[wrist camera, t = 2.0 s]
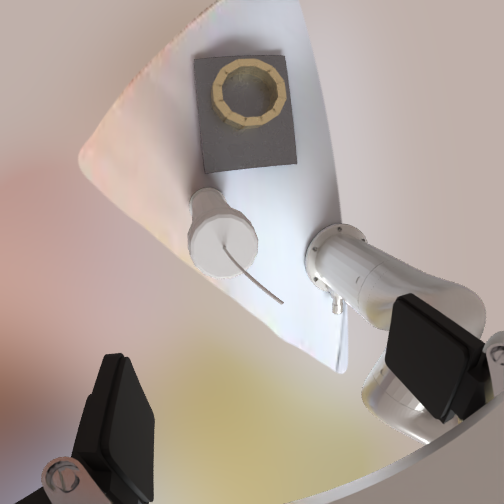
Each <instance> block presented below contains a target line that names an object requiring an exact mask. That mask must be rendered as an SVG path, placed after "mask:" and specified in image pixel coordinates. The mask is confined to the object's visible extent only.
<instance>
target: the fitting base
mask: <svg viewBox="0 0 504 504" xmlns="http://www.w3.org/2000/svg"><path fill="white" fill-rule="evenodd" d="M194 71H195V82H196V93H197V104H198V114H199V124H200V133H201V142H202V151H203V160H204V168H205V174H207V173H214V172H222V171H230V170H238V169H247V168H257V167H267V166H277V165H289V164H297V157H296V146H295V136H294V126H293V117H292V108H291V99H290V91H289V83H288V75H287V68H286V61H285V56H275V55H258V56H230V57H215V58H204V59H194Z"/></svg>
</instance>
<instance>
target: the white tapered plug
mask: <svg viewBox="0 0 504 504" xmlns="http://www.w3.org/2000/svg"><path fill="white" fill-rule="evenodd" d="M189 211H190V213H191V216H192V224H191V227H190V229H189V232H188V250H189V252H190V256H191V258H192V261H193V263H194V265H195V267H197V268H198V269H199V270H200V271H201V272H202V273H203V274H204V275H206V276H209V277H212V278H215V279H231V278H234V277H236V276H238V275H241V274H243V273H244V274H245V275H246V276H247V277H248V278H249V279H250V280H251V281H252V282H254V283H255V284H256V285H257V286H258V287H259V288H261V289H262V290H263V291H264V292H266V293H267V294H268V295H269V296H271V297H272V298H273V299H274V300H276V301H277V302H278V303H280V304H281V305H282V304H283V303H284V302H283V301H281V300H280V299H279V298H277V297H276V296H275V295H273V294H272V293H271V292H270V291H268V290H267V289H266V288H265V287H263V286H262V285H261V284H260V283H259V282H257V281H256V280H255V279H254V278H253V277H252V276H251V275H249V274H248V273H247V272H246V270H247V269H248V268H249V267H250V266H251V265H252V264H253V261H254V259H255V257H256V255H257V253H258V238H257V235H256V233H255V230H254V227H253V226H252V224H251V222H250V221H249V220H248V219H247V218H246V217H245V216H244V215H243V214H242V213H241V212H240V211H238V210H235V209H233V208H231V207H230V206H229V205H228V204H227V202H226V199H225V197H224V195H223V194H222V193H221V192H220V191H219V190H216V189H214V188H203V189H200V190H198V191H197V192H196V193H195V194H194V195H193V196H192V198H191V200H190V202H189Z"/></svg>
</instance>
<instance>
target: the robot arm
mask: <svg viewBox="0 0 504 504" xmlns="http://www.w3.org/2000/svg"><path fill="white" fill-rule="evenodd" d="M313 247H314V249H313ZM305 266H306V272H307V275H308V277H309V279H310V280H311V282H312V283H313V284H314V285H315V286H316V287H318V288H319V289H321V290H323V291H326V292H331V297H332V298H333V303H332V312H333V313H334V314H341V313H342V312H343V302H342V300H344V301H345V302H346V304H349V305H350V306H351V307H352V308H353V309H354V310H355V311H356V312H357V313H358V314H359V315H360V316H361V317H362V318H364V319H365V320H366V321H367V322H368V323H369V324H370V325H372V326H373V327H375V328H377V329H381V330H385V331H389V336H388V342H387V347H386V348H385V350H384V352H383V353H382V355H381V356H380V358H379V359H378V361H377V363H376V364H375V366H374V367H373V369H372V371H371V372H370V374H369V375H368V377H367V378H366V380H365V382H364V384H363V387H362V392H361V393H362V394H361V395H362V400H363V403H364V405H365V406H366V408H367V409H368V410H369V411H370V412H371V413H372V414H373V415H374V416H375V417H376V418H378V419H379V420H380V421H382V422H383V423H385V424H387V425H388V426H390V427H392V428H393V429H395V430H397V431H399V432H401V433H402V434H404V435H406V436H408V437H410V438H412V439H414V440H416V441H418V442H420V443H422V444H423V445H425V446H424V447H422V448H420V449H418V450H417V451H415V452H413V453H411V454H410V455H407V456H406V457H404V458H402V459H400V460H398V461H396V462H394V463H392V464H390V465H388V466H386V467H384V468H382V469H380V470H377V471H376V472H373V473H371V474H369V475H367V476H364V477H362V478H359V479H357V480H355V481H352V482H349V483H347V484H344V485H342V486H339V487H336V488H333V489H331V490H328V491H325V492H322V493H319V494H316V495H313V496H310V497H306V498H303V499H299V500H296V501H292V502H289V503H285V504H504V331H500V332H497V333H495V334H494V335H493V336H491V337H490V339H489V340H488V341H487V342H486V343H483V342H482V341H481V340H480V338H481V336H482V333H483V330H484V327H485V322H486V310H485V306H484V303H483V301H482V300H481V298H480V297H479V296H478V295H477V294H476V293H475V292H473V291H472V290H470V289H468V288H467V287H465V286H462V285H460V284H457V283H454V282H451V281H448V280H445V279H441V278H438V277H435V276H432V275H430V274H427V273H425V272H423V271H421V270H418V269H416V268H414V267H412V266H410V265H408V264H406V263H405V262H403V261H400V260H399V259H397V258H395V257H393V256H391V255H389V254H387V253H385V252H383V251H382V250H380V249H378V248H376V247H374V246H371V245H370V244H368V243H367V240H366V238H365V236H364V235H363V233H362V232H361V231H359V230H358V229H357V228H355V227H353V226H351V225H348V224H334V225H331V226H328V227H326V228H325V229H323V230H322V231H320V232H319V233H318V234H317V235H316V236H315V237H314V239H313V240H312V242H311V243H310V245H309V248H308V250H307V253H306V258H305ZM314 277H315V278H314ZM154 424H155V419H154V414H153V412H152V409H151V407H150V405H149V403H148V401H147V399H146V396H145V394H144V392H143V390H142V387H141V385H140V383H139V380H138V378H137V376H136V373H135V371H134V368H133V366H132V363H131V361H130V359H129V358H128V357H124V355H123V354H122V353H116V354H106V355H105V356H104V358H103V361H102V364H101V367H100V370H99V373H98V376H97V379H96V382H95V385H94V388H93V392H92V394H90V395H89V396H88V398H87V400H86V404H85V407H84V410H83V414H82V417H81V421H80V425H79V428H78V432H77V436H76V439H75V443H74V447H73V451H72V456H71V457H58V458H56V459H53V460H52V461H50V462H49V463H47V465H46V466H45V467H44V469H43V472H42V475H41V482H42V485H43V487H41V488H40V489H38V490H37V491H35V492H33V493H32V494H30V495H28V496H27V497H25V498H24V499H22V500H20V501H18V502H17V503H15V504H149V502H152V501H153V499H154V492H153V490H154V488H153V461H154V460H153V459H154Z"/></svg>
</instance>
